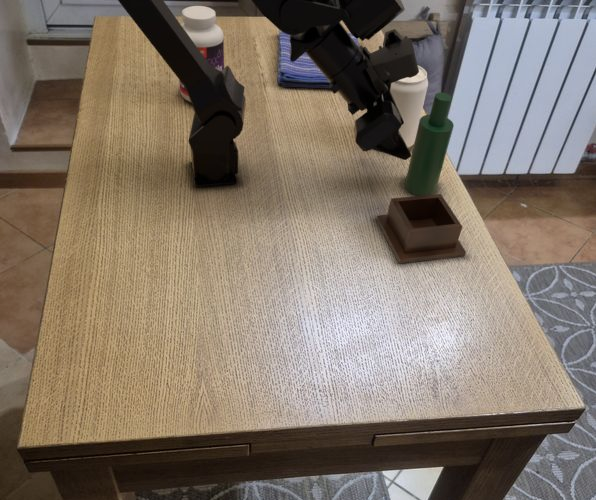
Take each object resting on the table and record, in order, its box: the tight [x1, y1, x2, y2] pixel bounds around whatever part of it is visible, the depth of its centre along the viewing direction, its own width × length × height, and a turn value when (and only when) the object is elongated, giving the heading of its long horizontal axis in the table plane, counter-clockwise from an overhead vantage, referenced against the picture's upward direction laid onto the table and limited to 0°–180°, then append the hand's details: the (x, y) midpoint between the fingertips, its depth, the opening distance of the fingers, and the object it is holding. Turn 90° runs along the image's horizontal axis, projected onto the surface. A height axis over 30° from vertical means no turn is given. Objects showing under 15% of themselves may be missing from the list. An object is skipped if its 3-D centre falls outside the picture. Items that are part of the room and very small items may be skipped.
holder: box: [375, 193, 467, 265], centre depth 88 cm, size 10×10×4 cm
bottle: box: [404, 92, 455, 196], centre depth 93 cm, size 5×5×15 cm
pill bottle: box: [178, 5, 225, 103], centre depth 107 cm, size 8×8×14 cm
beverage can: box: [390, 65, 429, 148], centre depth 102 cm, size 8×8×12 cm
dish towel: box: [277, 29, 360, 89], centre depth 123 cm, size 17×24×3 cm
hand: (404, 140), depth 92 cm, fingers open, 9 cm apart
